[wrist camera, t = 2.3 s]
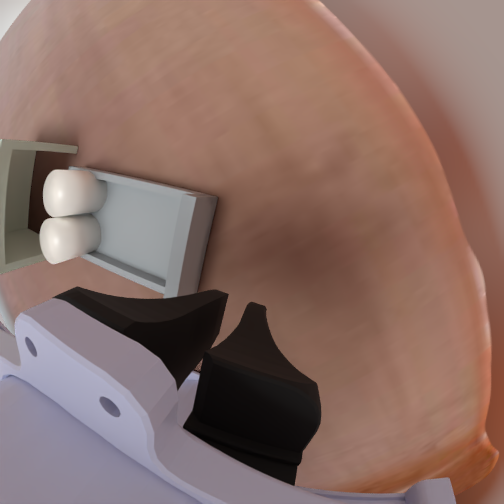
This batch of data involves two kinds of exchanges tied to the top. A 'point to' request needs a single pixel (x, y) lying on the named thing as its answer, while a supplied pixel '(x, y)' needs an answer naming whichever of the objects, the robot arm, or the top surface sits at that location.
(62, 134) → the top surface
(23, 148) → the block
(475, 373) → the top surface
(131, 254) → the tray
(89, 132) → the top surface
